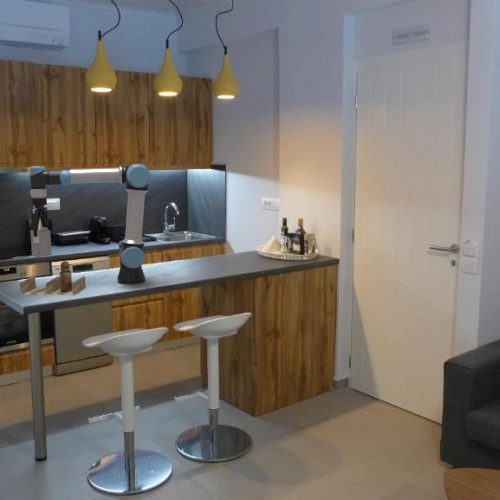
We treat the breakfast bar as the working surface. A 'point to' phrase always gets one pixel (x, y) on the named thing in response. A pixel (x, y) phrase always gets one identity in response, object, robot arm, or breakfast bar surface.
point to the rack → (50, 287)
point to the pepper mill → (65, 277)
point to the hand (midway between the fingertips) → (40, 241)
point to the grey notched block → (41, 244)
